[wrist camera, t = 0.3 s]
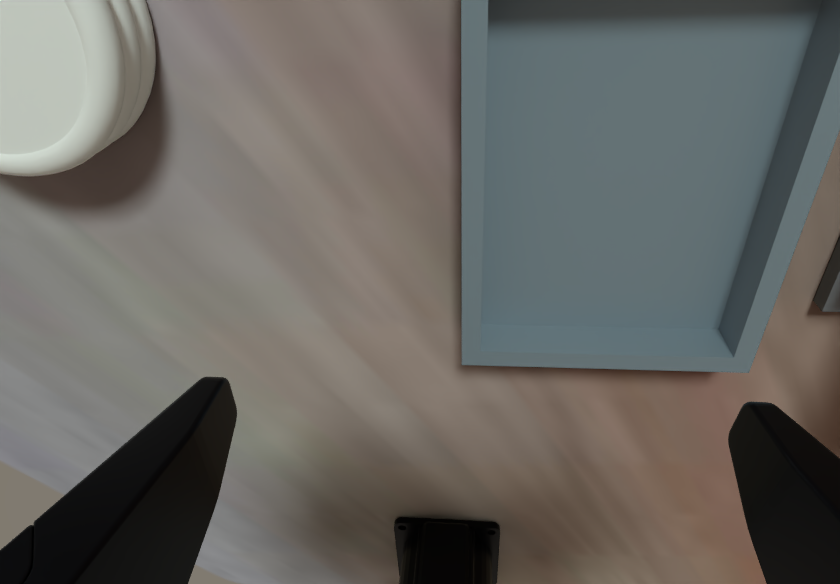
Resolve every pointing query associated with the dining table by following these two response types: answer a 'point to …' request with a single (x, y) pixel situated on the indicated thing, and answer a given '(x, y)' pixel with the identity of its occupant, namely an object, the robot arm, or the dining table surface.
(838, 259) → the grey piece
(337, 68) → the dining table surface
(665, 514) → the dining table surface
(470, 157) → the parts tray
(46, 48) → the white round disc
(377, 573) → the dining table surface
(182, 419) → the robot arm
